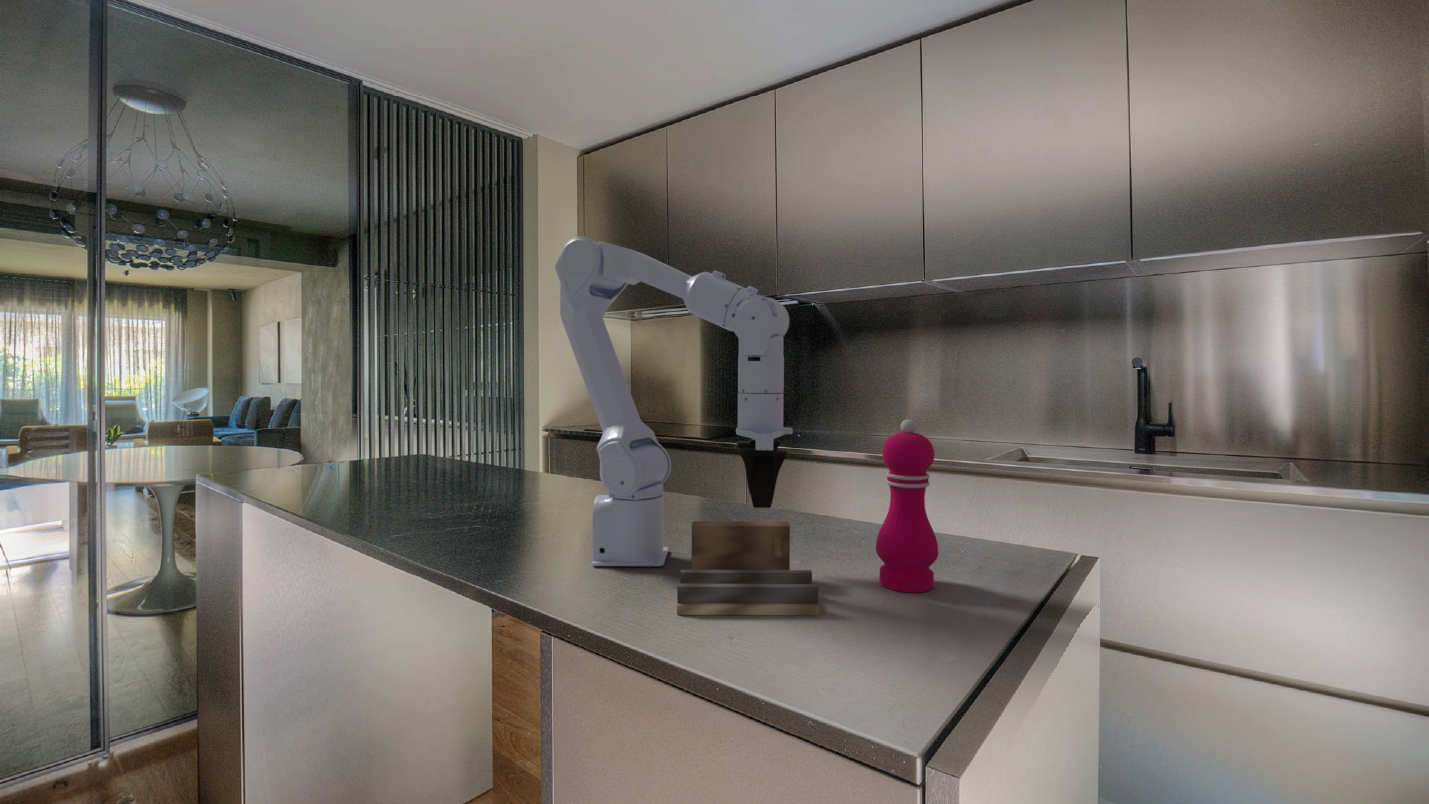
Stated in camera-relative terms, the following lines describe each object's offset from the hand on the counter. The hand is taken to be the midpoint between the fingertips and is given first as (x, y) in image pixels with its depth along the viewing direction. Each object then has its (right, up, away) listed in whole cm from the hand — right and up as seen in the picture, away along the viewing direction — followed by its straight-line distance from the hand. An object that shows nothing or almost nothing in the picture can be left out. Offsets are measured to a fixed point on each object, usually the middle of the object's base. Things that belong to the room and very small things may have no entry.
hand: (759, 500), depth 80 cm
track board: (-2, -10, -10) cm, 14 cm away
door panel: (-2, -10, -1) cm, 10 cm away
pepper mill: (+18, -10, -3) cm, 20 cm away
